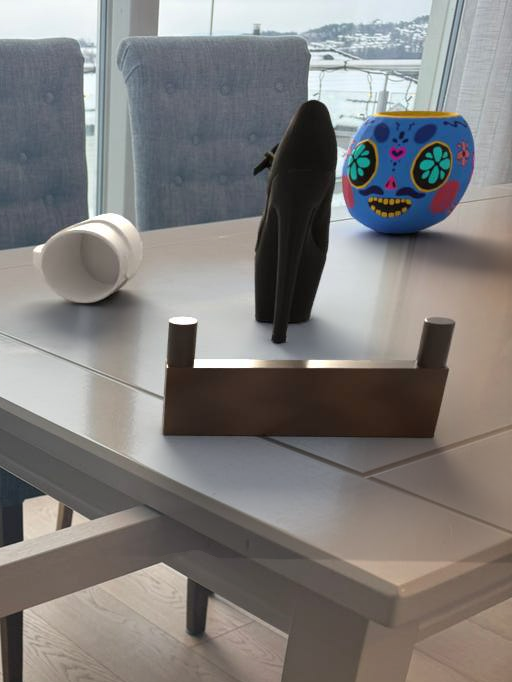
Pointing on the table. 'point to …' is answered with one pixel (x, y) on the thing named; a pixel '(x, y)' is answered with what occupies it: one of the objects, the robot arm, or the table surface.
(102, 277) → the mug
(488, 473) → the table surface
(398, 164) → the ceramic pot
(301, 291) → the high-heeled shoe
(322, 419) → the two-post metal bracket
